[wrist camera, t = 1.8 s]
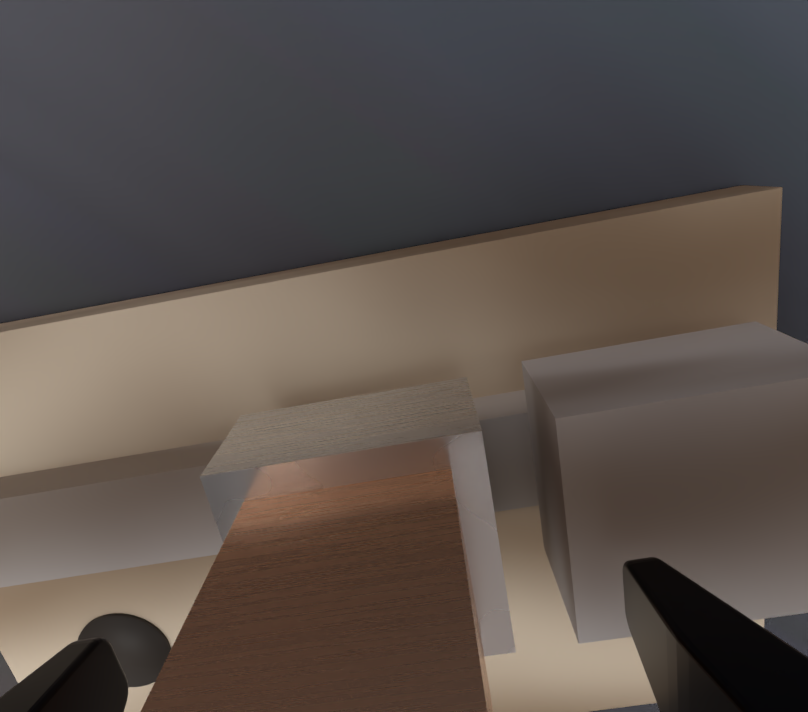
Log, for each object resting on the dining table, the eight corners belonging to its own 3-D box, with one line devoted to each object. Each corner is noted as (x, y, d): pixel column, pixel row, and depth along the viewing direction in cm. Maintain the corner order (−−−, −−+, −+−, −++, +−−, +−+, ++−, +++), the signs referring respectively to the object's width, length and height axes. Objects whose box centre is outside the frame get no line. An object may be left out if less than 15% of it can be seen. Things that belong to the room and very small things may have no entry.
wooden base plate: (733, 648, 14) (870, 848, 10) (95, 733, 16) (-22, 945, 11) (742, 185, 11) (968, 196, 6) (-107, 343, 12) (-399, 442, 7)
